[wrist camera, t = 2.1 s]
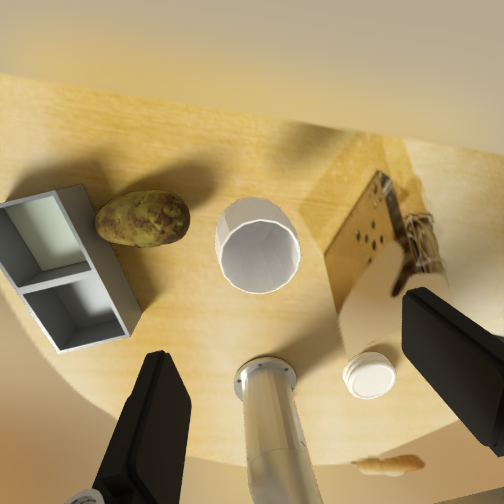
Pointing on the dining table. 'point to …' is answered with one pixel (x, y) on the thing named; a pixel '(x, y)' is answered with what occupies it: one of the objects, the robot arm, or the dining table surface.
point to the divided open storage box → (66, 270)
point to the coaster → (369, 375)
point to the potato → (143, 219)
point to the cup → (257, 246)
